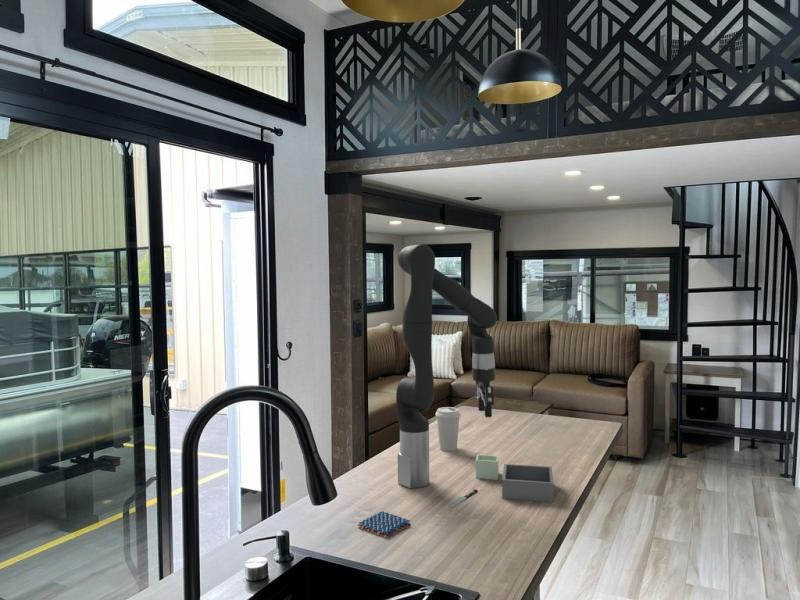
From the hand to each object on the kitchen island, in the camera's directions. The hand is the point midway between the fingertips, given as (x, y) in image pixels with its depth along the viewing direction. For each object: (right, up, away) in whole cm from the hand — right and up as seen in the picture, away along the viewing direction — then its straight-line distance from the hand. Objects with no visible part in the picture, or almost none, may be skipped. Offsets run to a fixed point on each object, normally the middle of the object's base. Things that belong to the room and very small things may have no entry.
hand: (485, 413), depth 195 cm
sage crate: (0, -19, -5) cm, 20 cm away
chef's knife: (-12, -21, -26) cm, 35 cm away
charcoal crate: (+10, -20, -19) cm, 29 cm away
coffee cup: (-10, -18, +24) cm, 32 cm away
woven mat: (-33, -22, -42) cm, 58 cm away
